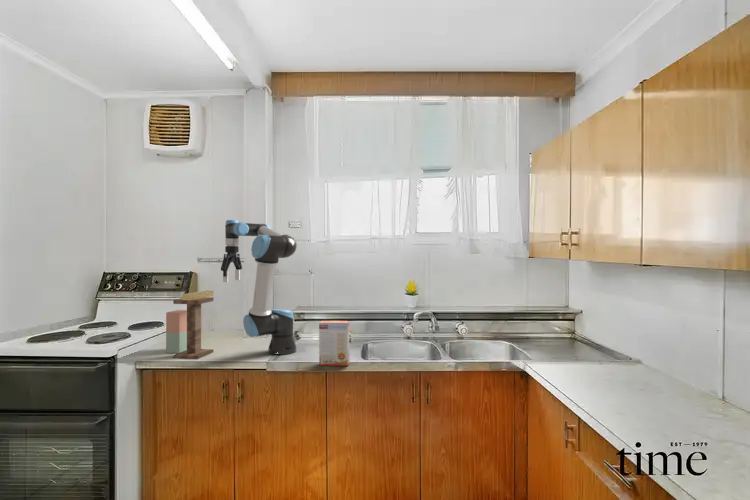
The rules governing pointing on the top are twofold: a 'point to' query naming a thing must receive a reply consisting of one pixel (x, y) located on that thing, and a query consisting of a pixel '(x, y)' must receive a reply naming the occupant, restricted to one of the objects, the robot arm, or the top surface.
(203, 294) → the brass bar
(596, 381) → the top surface
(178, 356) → the wooden stand
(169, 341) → the bottom block
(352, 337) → the architectural model
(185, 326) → the top block
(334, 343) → the cracker box
